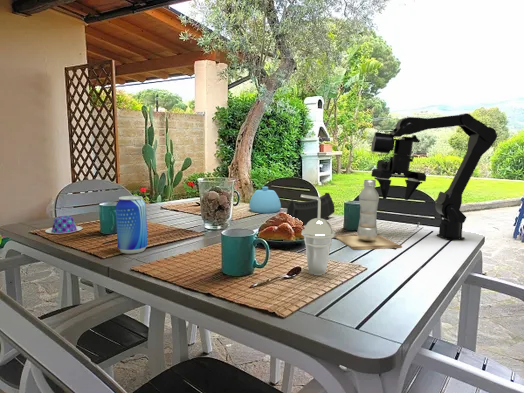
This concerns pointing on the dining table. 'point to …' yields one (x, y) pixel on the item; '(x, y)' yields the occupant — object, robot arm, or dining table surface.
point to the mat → (366, 242)
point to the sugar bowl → (265, 201)
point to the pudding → (63, 225)
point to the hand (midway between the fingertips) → (395, 199)
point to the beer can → (131, 224)
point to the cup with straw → (317, 241)
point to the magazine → (311, 209)
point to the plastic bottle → (368, 211)
